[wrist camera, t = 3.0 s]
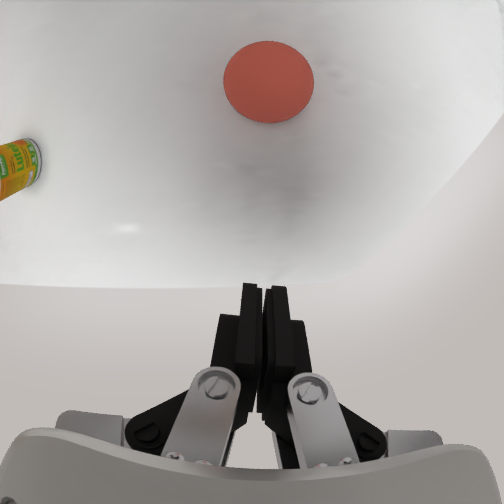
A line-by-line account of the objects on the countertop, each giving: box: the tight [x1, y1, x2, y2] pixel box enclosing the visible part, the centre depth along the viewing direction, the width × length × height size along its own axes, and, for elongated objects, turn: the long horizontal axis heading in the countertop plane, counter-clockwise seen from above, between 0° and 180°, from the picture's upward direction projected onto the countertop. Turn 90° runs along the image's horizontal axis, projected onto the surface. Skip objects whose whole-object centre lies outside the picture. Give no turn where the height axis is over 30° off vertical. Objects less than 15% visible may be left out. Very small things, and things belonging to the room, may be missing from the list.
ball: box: [223, 41, 314, 123], centre depth 16 cm, size 6×6×6 cm
